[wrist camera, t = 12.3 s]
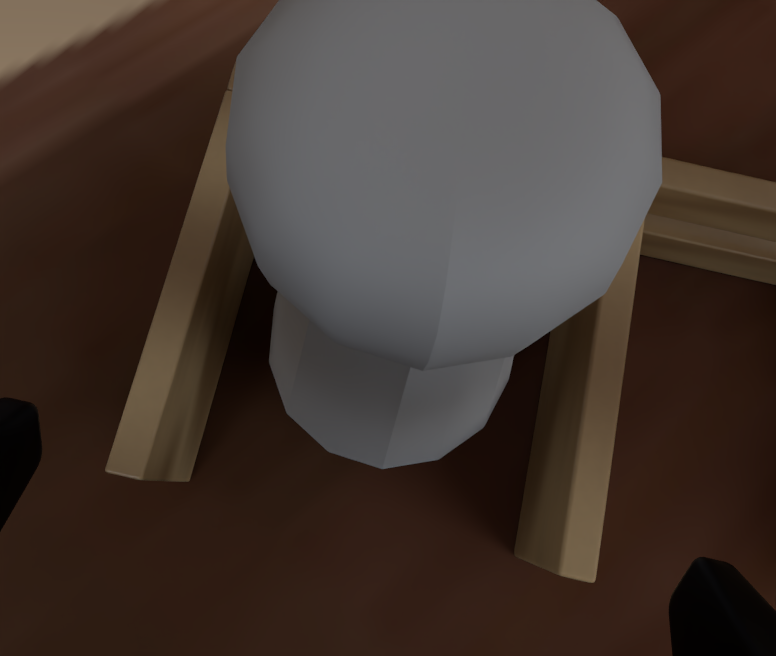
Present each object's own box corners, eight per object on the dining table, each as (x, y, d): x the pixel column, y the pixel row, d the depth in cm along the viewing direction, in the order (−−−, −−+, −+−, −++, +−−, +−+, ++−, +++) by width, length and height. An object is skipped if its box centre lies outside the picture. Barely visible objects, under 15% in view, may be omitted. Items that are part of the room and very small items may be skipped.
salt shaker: (236, 366, 18) (-45, 81, 5) (379, 223, 19) (422, -285, 7) (395, 517, 17) (498, 593, 5) (533, 359, 18) (915, 79, 6)
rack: (897, 644, 17) (1056, 689, 13) (159, 475, 17) (102, 472, 13) (908, 290, 19) (1045, 240, 16) (258, 144, 20) (234, 59, 16)
